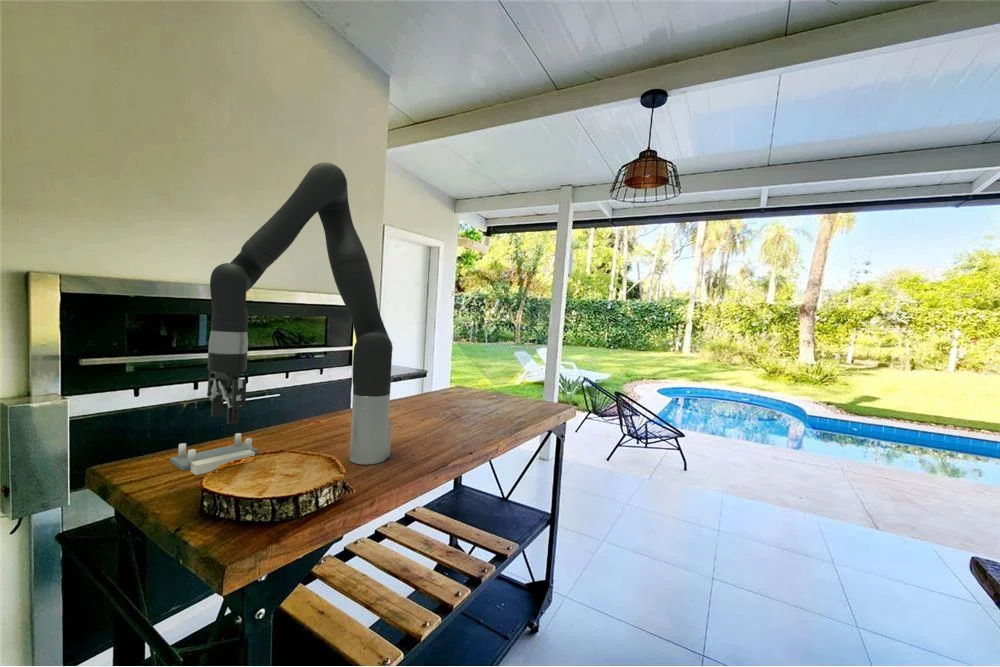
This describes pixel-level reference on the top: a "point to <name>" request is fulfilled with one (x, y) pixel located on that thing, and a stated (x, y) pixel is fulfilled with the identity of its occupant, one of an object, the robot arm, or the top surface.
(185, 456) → the grey pegged tray
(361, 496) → the top surface
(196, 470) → the clay strip
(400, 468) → the top surface
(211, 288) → the robot arm
